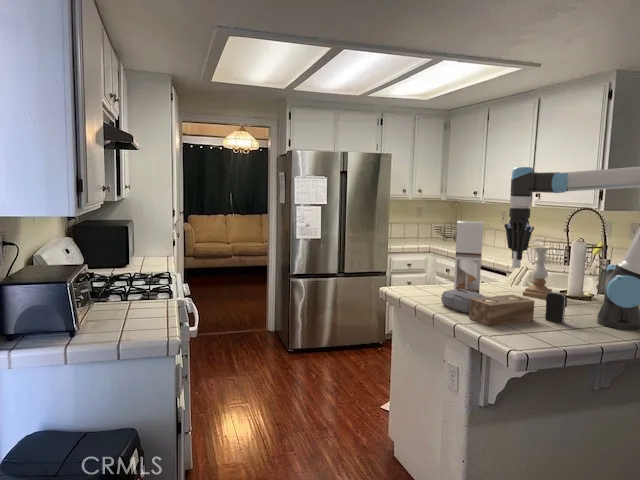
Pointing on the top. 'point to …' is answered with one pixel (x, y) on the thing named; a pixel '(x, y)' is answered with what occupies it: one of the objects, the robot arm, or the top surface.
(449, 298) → the soft grey pack
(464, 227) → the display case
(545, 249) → the candle holder
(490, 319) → the collar block
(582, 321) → the top surface
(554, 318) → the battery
